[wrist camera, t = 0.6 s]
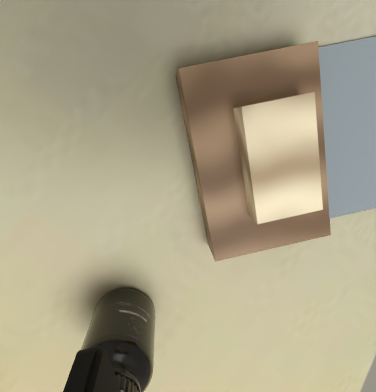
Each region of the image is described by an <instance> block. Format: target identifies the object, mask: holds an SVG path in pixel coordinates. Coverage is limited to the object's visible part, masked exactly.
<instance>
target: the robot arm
mask: <svg viewBox="0 0 376 392" xmlns="http://www.w3.org/2000/svg"><path fill="white" fill-rule="evenodd" d="M63 392H121V390H120V387H119V384H118V381H117V378H116V375H115V373H114V370H113V367H112V364H111V361H110V358H109V355H108V353H107V351H106V350H105V349H104V350H101V349H100V347H99V346H95V347H91V348H87V349H83V350H79V351H78V352H77V354H76V357H75V360H74V363H73V366H72V368H71V371H70V374H69V377H68V380H67V382H66V385H65V388H64V391H63Z"/></svg>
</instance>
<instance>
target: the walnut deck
mask: <svg viewBox="0 0 376 392" xmlns="http://www.w3.org/2000/svg"><path fill="white" fill-rule="evenodd" d="M176 79H177V84H178V89H179V94H180V100H181V105H182V110H183V115H184V121H185V126H186V131H187V136H188V141H189V147H190V152H191V157H192V162H193V167H194V173H195V178H196V183H197V188H198V193H199V199H200V204H201V209H202V214H203V219H204V225H205V230H206V235H207V240H208V245H209V247H210V250H211V252H212V255H213V257H214V260H215V261H219V260H224V259H228V258H232V257H237V256H241V255H246V254H250V253H254V252H259V251H263V250H267V249H272V248H276V247H280V246H285V245H289V244H293V243H298V242H302V241H306V240H311V239H315V238H319V237H324V236H328V235H331V234H330V219H329V203H328V188H327V172H326V157H325V141H324V126H323V110H322V95H321V79H320V64H319V48H318V41H316V42H310V43H305V44H300V45H295V46H290V47H285V48H279V49H274V50H269V51H264V52H259V53H254V54H249V55H243V56H238V57H233V58H228V59H223V60H218V61H212V62H207V63H202V64H197V65H192V66H187V67H182V68H179V69H178V72H177V74H176ZM312 92H315V104H316V118H317V132H318V146H319V160H320V175H321V189H322V203H323V210H319V211H315V212H310V213H306V214H301V215H297V216H292V217H288V218H284V219H279V220H275V221H270V222H266V223H261V224H257V223H256V222H255V221H254V220H253V219H252V218H251V217H250V216H249V213H248V206H247V199H246V192H245V185H244V179H243V172H242V165H241V158H240V151H239V144H238V137H237V131H236V124H235V117H234V110H233V108H238V107H243V106H247V105H252V104H257V103H262V102H267V101H272V100H277V99H282V98H287V97H292V96H297V95H302V94H307V93H312Z"/></svg>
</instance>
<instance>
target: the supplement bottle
mask: <svg viewBox="0 0 376 392" xmlns="http://www.w3.org/2000/svg"><path fill="white" fill-rule="evenodd" d="M154 332H155V310H154V306H153V304H152V302H151V301H150V299H149V298H148V297H147V296H146V295H144V294H143V293H141V292H140V291H137V290H134V289H128V288H124V289H117V290H114V291H112V292H110V293H108V294H107V295H105V296H104V297H103V298H102V299H101V300H100V302H99V303H98V305H97V307H96V310H95V312H94V315H93V318H92V320H91V323H90V326H89V329H88V331H87V334H86V337H85V340H84V343H83V345H82V348H81V350H83V349H87V348H91V347H95V346H99V347H100V349H101V350H104V349H105V350H106V351H107V353H108V355H109V358H110V361H111V364H112V367H113V370H114V373H115V375H116V378H117V381H118V384H119V387H120V390H121V392H144V391H145V389H146V388H147V386H148V385H149V383H150V381H151V378H152V373H153V358H154Z"/></svg>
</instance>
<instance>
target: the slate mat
mask: <svg viewBox="0 0 376 392" xmlns="http://www.w3.org/2000/svg"><path fill="white" fill-rule="evenodd" d="M318 48H319V64H320V79H321V95H322V110H323V126H324V141H325V157H326V172H327V188H328V203H329V218H334V217H338V216H342V215H347V214H351V213H356V212H360V211H364V210H369V209H373V208H376V36H374V37H369V38H364V39H359V40H354V41H349V42H344V43H339V44H333V45H328V46H323V47H318Z"/></svg>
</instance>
